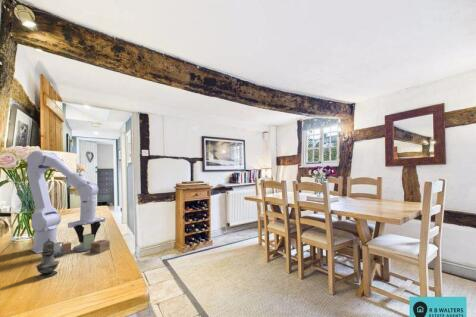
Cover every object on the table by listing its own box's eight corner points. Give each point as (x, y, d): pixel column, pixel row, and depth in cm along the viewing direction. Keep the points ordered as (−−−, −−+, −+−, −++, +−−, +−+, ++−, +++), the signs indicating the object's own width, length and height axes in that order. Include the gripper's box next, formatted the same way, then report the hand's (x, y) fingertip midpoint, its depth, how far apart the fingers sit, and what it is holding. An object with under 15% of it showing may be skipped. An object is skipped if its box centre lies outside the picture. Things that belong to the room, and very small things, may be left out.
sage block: (80, 246, 100) (80, 235, 101) (89, 244, 103) (90, 233, 104) (83, 248, 98) (84, 236, 98) (93, 245, 101) (94, 234, 102)
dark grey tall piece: (45, 280, 71) (46, 241, 72) (30, 278, 72) (32, 240, 73) (63, 271, 77) (64, 236, 77) (49, 270, 78) (50, 235, 79)
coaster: (69, 249, 100) (69, 247, 100) (93, 243, 108) (93, 241, 108) (78, 253, 94) (78, 251, 94) (103, 247, 102) (103, 245, 102)
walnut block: (90, 252, 96) (90, 243, 96) (100, 248, 100) (100, 239, 101) (99, 253, 94) (100, 244, 95) (109, 249, 99) (109, 240, 99)
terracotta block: (50, 253, 96) (51, 244, 96) (67, 249, 101) (67, 241, 101) (54, 254, 93) (54, 246, 94) (70, 250, 98) (71, 242, 99)
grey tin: (48, 256, 91) (49, 244, 92) (60, 253, 95) (61, 241, 95) (52, 258, 89) (52, 245, 89) (64, 255, 92) (64, 243, 93)
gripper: (72, 213, 94) (71, 246, 93) (108, 208, 106) (107, 238, 105) (66, 212, 98) (65, 243, 97) (101, 207, 110) (100, 235, 109)
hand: (86, 240), depth 101 cm, fingers open, 4 cm apart
